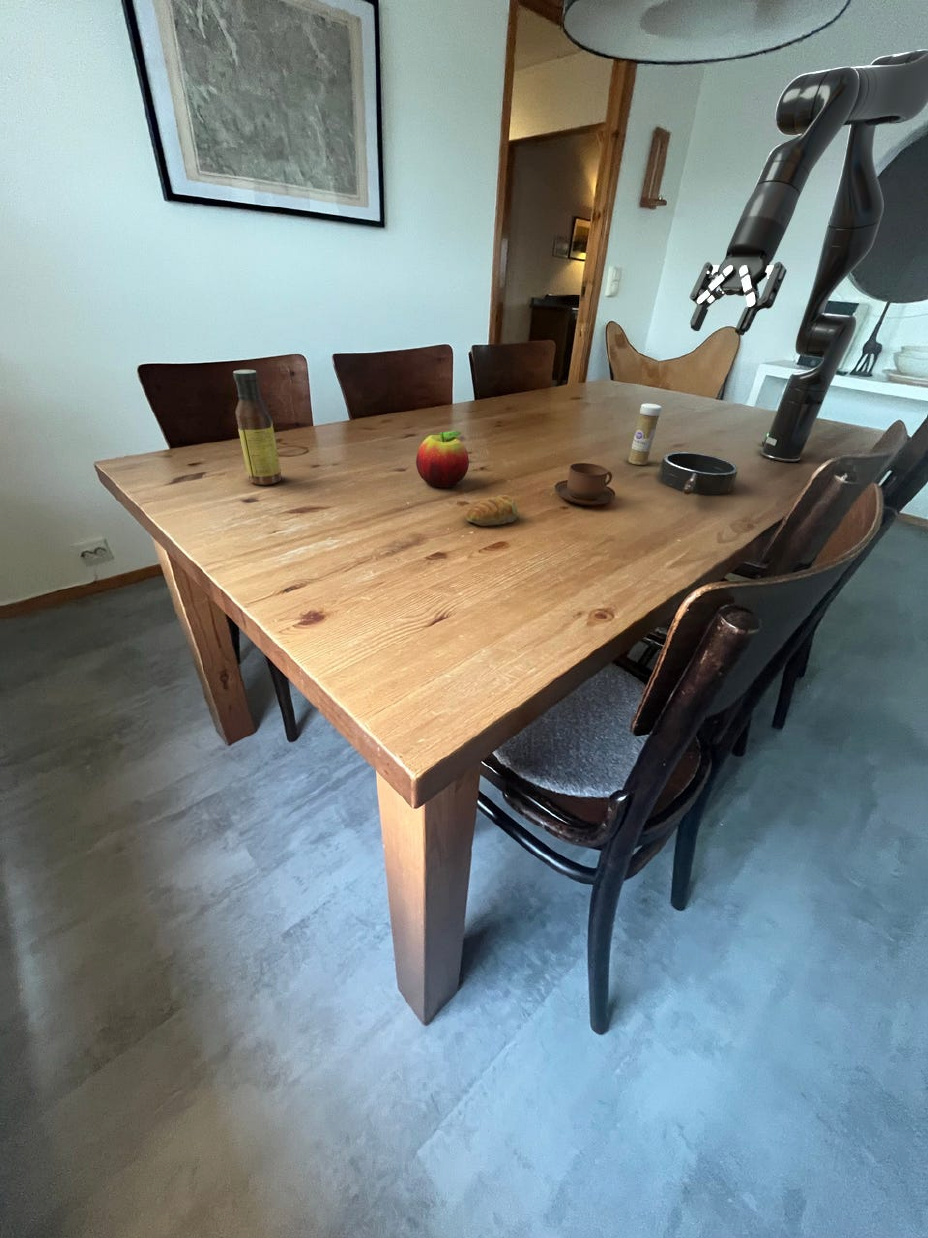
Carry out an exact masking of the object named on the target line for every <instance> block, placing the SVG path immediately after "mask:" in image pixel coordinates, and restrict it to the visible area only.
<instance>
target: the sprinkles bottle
mask: <svg viewBox="0 0 928 1238" xmlns="http://www.w3.org/2000/svg"><path fill="white" fill-rule="evenodd" d="M639 409H640V410H639V418H638V421H637V426H636V429H635V434H634V436H633V441H632V444H631V451H630V455H629V458H628V463H630V464H631V465H635V466H645V465H647V464H648V460H649V456H650V452H651V449H652V446H653V441H654V437H655V434H656V429H657V425H658V420H659V417H660V415H661V412H662V409H663V408H662V406H661V405H658V404H655V403H642V404H641V406H640V408H639Z"/></svg>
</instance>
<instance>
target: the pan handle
mask: <svg viewBox="0 0 928 1238" xmlns="http://www.w3.org/2000/svg"><path fill="white" fill-rule="evenodd" d="M698 478H699V477H698V475H697V474H696V473H693V474H691V475H690V477H689V479H688V481H687V482H686V484H685V486H684V488H683V491H682V493H683V494H684V495H685V496H689V495H691V494H693V493H692V492H693V489H694V487H695V485H696V483H697V481H698Z"/></svg>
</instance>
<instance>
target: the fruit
mask: <svg viewBox="0 0 928 1238" xmlns="http://www.w3.org/2000/svg"><path fill="white" fill-rule="evenodd" d="M457 436H462V432H461V431H458V430H450V431H449V430H448V431H444V432H439V434H431V435H428V436H426V438H425V439H424V440H423V441H422V443H421V444H420V446H419V448H418V449H417V453H416V459H415V465H416V470H417V472H418V475H419V476H420V478H422V480H423V481H424V482H425V483H426V484H428V485H430V486H432V487H434V488H435V487H437V488H451V487H452V488H453V487H454V486H457V485H458V484H459V483H460V482H462V480H463V479H464V478H465V477H466V476H467V473H468V470H469V465H470V459H469V454H468V451H467V449H466V446H465V445H464V444H463V443H462V442H461V440H460V439H458V437H457Z"/></svg>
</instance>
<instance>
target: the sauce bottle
mask: <svg viewBox="0 0 928 1238" xmlns="http://www.w3.org/2000/svg"><path fill="white" fill-rule="evenodd" d="M232 375H233V379H234V382H235V384H236V388H237V389H236V390H237V393H238V394H237V397H238V402H237V406H236V408H235V419H236V422H237V429H238V436H239V440H240V444H241V449H242V453H243V459H244V464H245V469H246V473H247V476H248V480H249V482H250V483H252V484H255V485H258V486H269V485H275V484H276V483H279V482H281V480H282V473H281V471H282V468H281V463H280V457H279V451H278V446H277V441H276V435H275V429H274V424H273V419H272V416H271V414H270V412H269V410H268V408H267V406H266V404H265V402H264V400H263V398H262V395H261V391H260V386H259V374H258V372H257V370H254V369H238V370H234V371H233V372H232Z"/></svg>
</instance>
